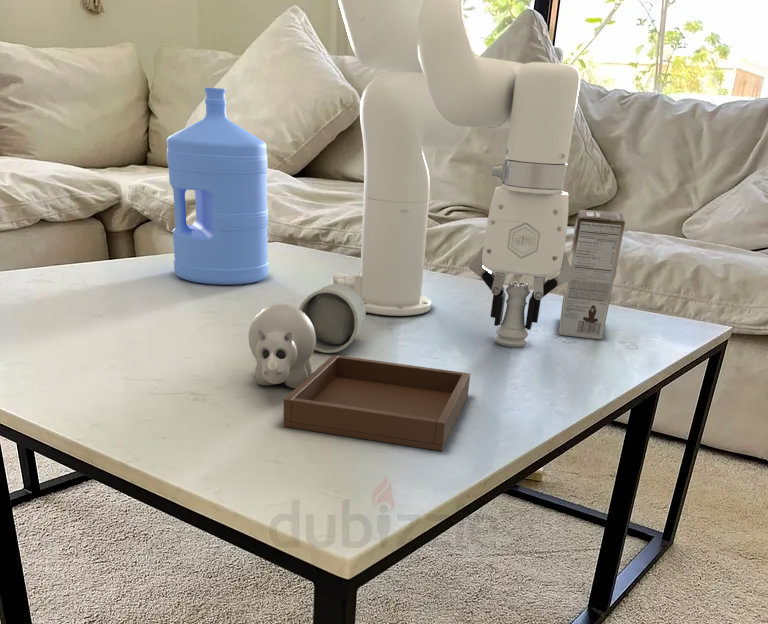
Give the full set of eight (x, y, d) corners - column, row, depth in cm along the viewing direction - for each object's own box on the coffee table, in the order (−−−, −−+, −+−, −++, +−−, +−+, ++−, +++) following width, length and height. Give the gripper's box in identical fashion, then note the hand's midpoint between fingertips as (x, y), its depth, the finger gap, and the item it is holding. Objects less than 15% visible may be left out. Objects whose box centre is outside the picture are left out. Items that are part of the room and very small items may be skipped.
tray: (283, 426, 75) (283, 399, 74) (332, 378, 89) (332, 354, 87) (441, 451, 72) (444, 423, 71) (467, 397, 86) (470, 373, 84)
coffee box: (558, 320, 119) (577, 208, 112) (601, 324, 118) (623, 212, 111) (558, 335, 111) (578, 216, 104) (603, 340, 110) (627, 220, 103)
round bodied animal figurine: (234, 406, 79) (231, 322, 75) (256, 369, 90) (254, 294, 86) (304, 411, 79) (305, 328, 75) (318, 374, 90) (320, 299, 86)
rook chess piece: (491, 338, 108) (498, 279, 104) (522, 339, 108) (531, 280, 105) (498, 347, 104) (506, 286, 100) (530, 348, 104) (540, 287, 101)
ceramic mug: (367, 339, 103) (369, 279, 100) (356, 356, 96) (358, 293, 93) (289, 332, 105) (288, 273, 101) (272, 349, 97) (271, 286, 94)
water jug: (254, 265, 141) (251, 90, 128) (280, 284, 129) (279, 92, 116) (166, 267, 135) (154, 83, 122) (184, 287, 123) (172, 85, 110)
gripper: (463, 174, 95) (447, 324, 103) (602, 186, 91) (574, 340, 100) (472, 170, 101) (457, 311, 110) (602, 181, 98) (576, 326, 107)
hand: (513, 324), depth 105 cm, fingers closed on rook chess piece, 3 cm apart
